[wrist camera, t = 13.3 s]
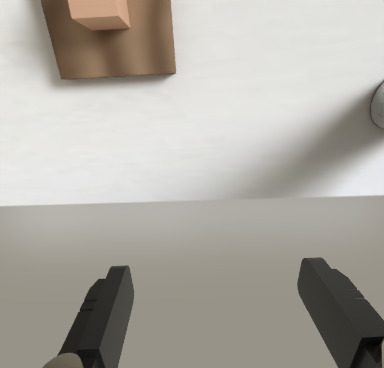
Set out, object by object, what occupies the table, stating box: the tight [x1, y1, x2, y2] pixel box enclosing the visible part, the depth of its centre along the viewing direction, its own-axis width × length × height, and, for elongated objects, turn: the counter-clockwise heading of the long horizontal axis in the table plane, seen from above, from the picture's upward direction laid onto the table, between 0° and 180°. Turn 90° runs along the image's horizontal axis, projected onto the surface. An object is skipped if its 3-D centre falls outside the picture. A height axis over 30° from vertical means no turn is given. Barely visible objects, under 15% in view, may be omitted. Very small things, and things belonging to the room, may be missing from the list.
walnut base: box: [41, 0, 176, 79], centre depth 30 cm, size 16×16×2 cm
